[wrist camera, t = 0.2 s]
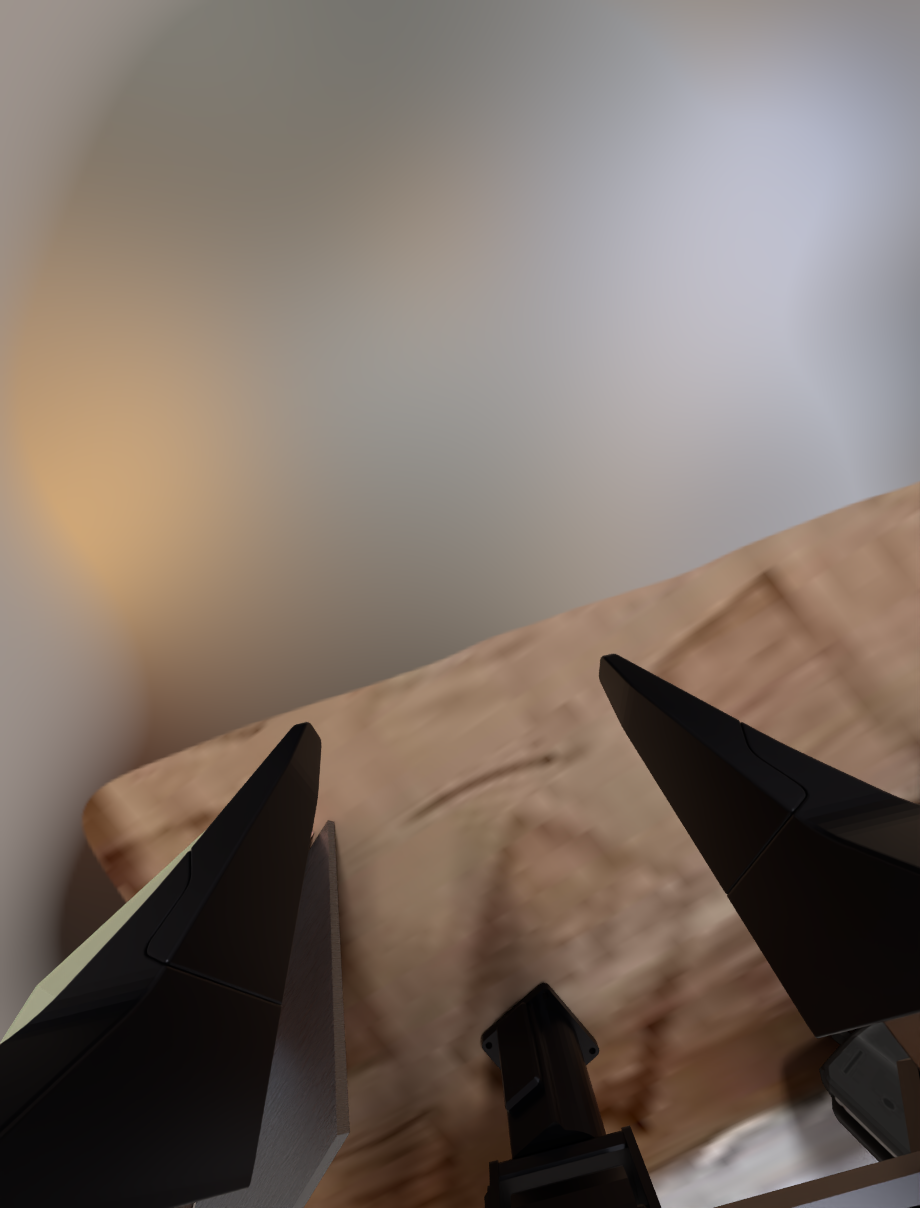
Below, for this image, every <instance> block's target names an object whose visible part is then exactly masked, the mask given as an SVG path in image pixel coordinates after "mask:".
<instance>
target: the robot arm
mask: <svg viewBox="0 0 920 1208" xmlns="http://www.w3.org/2000/svg"><path fill="white" fill-rule="evenodd" d="M599 679H600V682H601V684H602V686H603V689H604V691H605V693H606V695H607V697H608V699H609V701H610V703H611V705H612V707H613V709H614V711H615V713H616V715H617V718H618V720H619V722H620V724H621V726H622V727H623V729H624V731H625V732H626V734H627V736H628V737H629V739H630V741H631V742H632V744H633V745H634V747H635V749H636V750H637V752H638V753H639V755H640V757H641V758H642V760H643V762H644V763H645V765H646V766H647V768H648V770H649V771H650V773H651V774H652V776H653V778H654V779H655V781H656V782H657V784H658V786H659V787H660V789H661V790H662V792H663V794H664V795H665V797H666V798H667V800H668V802H669V803H670V805H671V806H672V808H673V810H674V811H675V813H676V815H677V816H678V818H679V819H680V821H681V823H682V824H683V826H684V827H685V829H686V831H687V832H688V834H689V835H690V837H691V839H692V840H693V842H694V843H695V845H696V847H697V848H698V850H699V851H700V853H701V855H702V856H703V858H704V860H705V861H706V863H707V864H708V866H709V868H710V869H711V871H712V872H713V874H714V876H715V877H716V879H717V880H718V882H719V884H720V885H721V887H722V888H723V890H724V892H725V893H726V894H727V897H728V898H729V900H730V902H731V903H732V905H733V906H734V908H735V910H736V911H737V913H738V914H739V916H740V918H741V919H742V921H743V923H744V924H745V926H746V927H747V929H748V931H749V932H750V934H751V935H752V937H753V939H754V940H755V942H756V943H757V945H758V947H759V948H760V950H761V951H762V953H763V955H764V956H765V958H766V959H767V961H768V963H769V964H770V966H771V968H772V969H773V971H774V972H775V974H776V976H777V977H778V979H779V980H780V982H781V984H782V985H783V987H784V988H785V990H786V992H787V993H788V995H789V996H790V998H791V1000H792V1001H793V1003H794V1004H795V1006H796V1008H797V1009H798V1011H799V1013H800V1014H801V1016H802V1017H803V1019H804V1021H805V1022H806V1024H807V1025H808V1027H809V1028H810V1030H811V1031H812V1033H813V1034H814V1036H815V1037H816V1038H821V1037H825V1036H829V1035H833V1034H837V1033H841V1032H845V1031H849V1030H853V1029H857V1028H861V1027H865V1026H869V1025H873V1024H877V1023H881V1022H883V1023H884V1025H885V1026H886V1027H887V1029H888V1030H889V1031H890V1033H891V1034H892V1035H893V1037H894V1038H895V1039H896V1040H897V1042H898V1043H899V1044H900V1046H901V1047H902V1048H903V1050H904V1051H905V1052H906V1054H907V1055H908V1056H909V1058H907V1059H904V1060H900V1061H896V1063H897V1069H898V1076H899V1082H900V1088H901V1095H902V1101H903V1107H904V1113H905V1120H906V1126H907V1132H908V1139H909V1145H910V1151H911V1153H910V1154H906V1155H903V1156H899V1157H896V1158H892V1159H888V1160H885V1161H881V1162H877V1163H874V1164H870V1165H867V1166H863V1167H859V1168H856V1169H852V1170H848V1171H845V1172H841V1173H838V1174H834V1175H830V1176H827V1177H823V1178H819V1179H816V1180H812V1181H809V1182H805V1183H801V1184H798V1185H794V1186H790V1187H787V1188H783V1189H780V1190H776V1191H772V1192H769V1193H765V1194H761V1195H758V1196H754V1197H751V1198H747V1199H743V1200H740V1201H736V1202H732V1203H729V1204H725V1205H722V1206H718V1207H714V1208H920V805H919V804H916V803H913V802H910V801H907V800H905V799H902V798H899V797H897V796H894V795H892V794H890V793H887V792H885V791H883V790H881V789H879V788H876V787H874V786H872V785H870V784H868V783H866V782H863V781H861V780H859V779H857V778H855V777H853V776H851V775H848V774H846V773H844V772H842V771H840V770H838V769H836V768H833V767H831V766H829V765H827V764H825V763H823V762H820V761H818V760H816V759H814V758H812V757H810V756H808V755H806V754H804V753H801V752H799V751H797V750H795V749H793V748H791V747H789V746H787V745H785V744H783V743H781V742H779V741H777V740H775V739H773V738H771V737H769V736H767V735H766V734H764V733H762V732H760V731H758V730H756V729H754V728H752V727H750V726H749V725H747V724H745V723H743V722H741V723H740V721H739V720H737V719H735V718H734V717H732V716H730V715H728V714H726V713H724V712H723V711H721V710H719V709H717V708H715V707H713V706H711V705H710V704H708V703H706V702H704V701H702V700H700V699H698V698H697V697H695V696H693V695H691V694H689V693H687V692H685V691H684V690H682V689H680V688H678V687H676V686H674V685H673V684H671V683H669V682H667V681H665V680H663V679H661V678H660V677H658V676H656V675H654V674H652V673H650V672H648V671H647V670H645V669H643V668H641V667H639V666H637V665H636V664H634V663H632V662H630V661H628V660H626V659H624V658H623V657H621V656H619V655H617V654H609V655H605V656H602V657H601V659H600V668H599ZM320 760H321V739H320V737H319V736H318V734H317V732H316V731H315V729H314V728H313V726H312V725H311V724H310V723H309V722H305V723H300V724H296V725H294V726H293V727H292V728H291V729H290V730H289V732H288V733H287V734H286V735H285V736H284V738H283V739H282V740H281V741H280V742H279V744H278V745H277V746H276V747H275V748H274V750H273V751H272V752H271V753H270V754H269V756H268V757H267V758H266V759H265V760H264V761H263V763H262V764H261V765H260V766H259V767H258V769H257V770H256V771H255V772H254V773H253V775H252V776H251V777H250V778H249V779H248V781H247V782H246V783H245V784H244V785H243V787H242V788H241V789H240V790H239V791H238V792H237V794H236V795H235V796H234V797H233V798H232V800H231V801H230V802H229V803H228V804H227V806H226V807H225V808H224V809H223V810H222V812H221V813H220V814H219V815H218V816H217V818H216V819H215V820H214V821H213V822H212V824H211V825H210V826H209V827H208V828H207V829H206V831H205V832H204V833H203V834H202V835H201V837H200V838H199V839H198V840H197V841H196V843H195V844H194V845H193V846H192V848H191V850H190V851H188V852H187V853H186V854H185V856H184V857H183V858H182V859H181V860H180V862H179V863H178V864H177V865H176V866H175V867H174V869H173V870H172V871H171V872H170V873H169V874H168V876H167V877H166V878H165V879H164V880H163V881H162V883H161V884H160V885H159V886H158V887H157V888H156V890H155V891H154V892H153V893H152V894H151V895H150V896H149V897H148V898H147V900H146V901H145V902H144V903H143V904H142V905H141V906H140V907H139V908H138V909H137V911H136V912H135V913H134V914H133V915H132V916H131V917H130V918H129V919H128V920H127V922H126V923H125V924H124V925H123V926H122V927H121V928H120V929H119V930H118V931H117V932H116V933H115V934H114V935H113V937H112V938H111V939H110V940H109V941H108V942H107V943H106V944H105V945H104V946H103V947H102V948H101V949H100V951H99V952H98V953H97V954H96V955H95V956H94V957H93V958H92V959H91V960H90V961H89V962H88V963H87V965H86V966H85V967H84V968H83V969H82V970H81V971H80V972H79V973H78V974H77V975H76V976H75V977H74V978H73V980H72V981H71V982H70V983H69V984H68V985H67V986H66V987H65V988H64V989H63V990H62V991H61V992H60V993H59V994H58V995H57V996H56V997H55V998H54V999H53V1001H52V1002H50V1003H49V1004H48V1005H47V1006H46V1007H45V1008H44V1009H43V1010H42V1011H41V1012H40V1013H39V1014H38V1015H36V1016H35V1017H34V1018H33V1019H32V1020H31V1021H30V1022H28V1023H27V1024H26V1025H25V1026H24V1027H22V1028H21V1029H20V1030H18V1031H17V1032H16V1033H15V1034H13V1035H12V1036H11V1037H9V1038H8V1039H7V1040H5V1041H4V1042H2V1043H1V1044H0V1208H193V1204H194V1203H195V1202H199V1201H202V1200H206V1199H210V1198H213V1197H217V1196H221V1195H224V1194H228V1193H232V1192H235V1191H239V1190H243V1189H246V1188H249V1186H250V1183H251V1179H252V1174H253V1169H254V1164H255V1158H256V1153H257V1147H258V1141H259V1135H260V1130H261V1124H262V1118H263V1112H264V1107H265V1101H266V1095H267V1089H268V1084H269V1078H270V1072H271V1066H272V1061H273V1055H274V1049H275V1043H276V1038H277V1032H278V1026H279V1020H280V1014H281V1009H282V1006H281V1004H282V1002H283V996H284V990H285V984H286V979H287V973H288V967H289V961H290V956H291V950H292V944H293V938H294V933H295V927H296V921H297V915H298V910H299V904H300V898H301V892H302V887H303V881H304V875H305V869H306V863H307V858H308V852H309V846H310V840H311V835H312V829H313V823H314V817H315V812H316V806H317V799H318V790H319V775H320ZM482 1048H483V1050H484V1051H485V1052H486V1053H487V1054H488V1056H489V1057H490V1058H491V1059H492V1060H493V1061H494V1063H495V1064H496V1065H497V1066H498V1067H499V1068H500V1070H501V1074H502V1084H503V1093H504V1102H505V1108H506V1110H507V1117H508V1126H509V1135H510V1144H511V1153H512V1159H511V1160H507V1161H503V1162H500V1163H499V1162H498V1160H496V1161H492V1162H489V1172H490V1186H487V1193H486V1195H485V1197H484V1200H485V1208H661V1205H660V1203H659V1200H658V1197H657V1195H656V1192H655V1190H654V1187H653V1184H652V1182H651V1179H650V1177H649V1174H648V1171H647V1169H646V1166H645V1164H644V1161H643V1158H642V1156H641V1153H640V1150H639V1148H638V1145H637V1143H636V1140H635V1137H634V1135H633V1132H632V1130H631V1127H630V1126H626V1127H622V1128H621V1129H622V1131H618V1132H614V1133H610V1134H607V1135H606V1132H605V1129H604V1125H603V1122H602V1119H601V1115H600V1112H599V1108H598V1105H597V1102H596V1098H595V1095H594V1091H593V1088H592V1085H591V1081H590V1078H589V1074H588V1071H587V1067H586V1065H587V1064H588V1063H589V1062H591V1061H592V1060H593V1059H594V1058H595V1057H596V1056H597V1055H598V1053H599V1048H598V1045H597V1042H596V1040H595V1039H594V1037H593V1036H592V1035H591V1034H590V1033H589V1032H588V1030H587V1029H586V1028H585V1027H584V1026H583V1024H582V1023H581V1022H580V1021H579V1020H578V1019H577V1017H576V1016H575V1015H574V1014H573V1013H572V1012H571V1010H570V1009H569V1008H568V1007H567V1006H566V1004H565V1003H564V1002H563V1001H562V1000H561V999H560V997H559V996H558V995H557V994H556V993H555V992H554V990H553V989H552V988H551V987H550V986H549V985H548V984H547V983H542V984H540V985H539V986H538V987H536V988H535V989H534V990H533V991H532V992H531V993H530V994H528V995H527V996H526V997H525V998H524V999H523V1000H522V1001H521V1002H519V1003H518V1004H517V1005H516V1006H515V1007H514V1008H513V1009H511V1010H510V1011H509V1012H508V1013H507V1014H506V1015H505V1016H503V1017H502V1018H501V1019H500V1020H499V1021H498V1022H497V1023H495V1024H494V1025H493V1026H492V1027H491V1028H490V1029H489V1030H487V1031H486V1032H485V1033H484V1034H483V1036H482Z"/></svg>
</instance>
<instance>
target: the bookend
mask: <svg viewBox="0 0 920 1208" xmlns="http://www.w3.org/2000/svg"><path fill="white" fill-rule="evenodd" d="M281 1006H282V1009H281V1014H280V1020H279V1026H278V1032H277V1038H276V1043H275V1049H274V1055H273V1061H272V1066H271V1072H270V1078H269V1084H268V1089H267V1095H266V1101H265V1107H264V1112H263V1118H262V1124H261V1130H260V1135H259V1141H258V1147H257V1153H256V1158H255V1164H254V1169H253V1174H252V1179H251V1183H250V1186H249V1188H246V1189H243V1190H239V1191H235V1192H232V1193H228V1194H224V1195H221V1196H217V1197H213V1198H210V1199H206V1200H202V1201H199V1202H196V1206H195V1208H304V1206H305V1204H306V1203H307V1201H308V1200H309V1198H310V1196H311V1195H312V1193H313V1191H314V1190H315V1188H316V1187H317V1185H318V1183H319V1182H320V1180H321V1178H322V1177H323V1175H324V1174H325V1172H326V1170H327V1169H328V1167H329V1165H330V1164H331V1162H332V1160H333V1159H334V1157H335V1156H336V1154H337V1152H338V1151H339V1149H340V1147H341V1146H342V1144H343V1143H344V1141H345V1139H346V1138H347V1136H348V1134H349V1133H350V1128H349V1109H348V1089H347V1069H346V1049H345V1029H344V1009H343V990H342V970H341V950H340V930H339V910H338V890H337V871H336V851H335V831H334V822H333V821H327V822H326V824H325V826H324V827H323V829H322V830H321V832H320V834H319V835H318V837H317V838H316V840H315V842H314V843H313V845H312V846H311V848H310V850H309V852H308V858H307V863H306V869H305V875H304V881H303V887H302V892H301V898H300V904H299V910H298V915H297V921H296V927H295V933H294V938H293V944H292V950H291V956H290V961H289V967H288V973H287V979H286V984H285V990H284V996H283V1002H282V1004H281Z"/></svg>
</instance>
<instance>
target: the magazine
mask: <svg viewBox="0 0 920 1208" xmlns="http://www.w3.org/2000/svg"><path fill="white" fill-rule="evenodd" d="M832 1038H833V1039H834V1040H835V1041H837V1042H838V1043H839V1044H840V1046H839V1047H838V1048H837V1049H836V1051H835V1052H834V1053H833V1054H832V1055H831V1056H830V1057H829V1059H828V1060H827V1061H826V1062H825V1063H824V1064H823V1065H822V1067H821V1068H820V1069H819V1070H820V1074H821V1078H822V1083H823V1084H824V1086H825V1087H826V1089H827V1091H828V1092H829V1094H830V1095H831V1097H832V1109H833V1111H834V1114H835V1116H836V1118H837V1119H838V1121H839V1122H840V1123H841V1124H842V1125H843V1126H844V1127H845V1128H846V1129H847V1130H848V1131H849V1132H850V1133H851V1134H852V1135H853V1136H854V1137H855V1138H856V1139H857V1140H858V1141H859V1142H860V1143H861V1144H862V1145H863V1146H864V1147H865V1148H866V1149H867V1150H868V1151H869V1152H870V1153H871V1154H872V1155H873V1156H874V1157H875V1158H876V1159H877V1160H878V1161H879V1162H881V1161H885V1160H888V1159H892V1158H896V1157H899V1156H903V1155H906V1154H910V1153H911V1151H910V1145H909V1139H908V1132H907V1126H906V1120H905V1113H904V1107H903V1101H902V1095H901V1088H900V1082H899V1076H898V1069H897V1063H896V1061H900V1060H904V1059H907V1058H909V1056H908V1055H907V1054H906V1052H905V1051H904V1050H903V1048H902V1047H901V1046H900V1044H899V1043H898V1042H897V1040H896V1039H895V1038H894V1037H893V1035H892V1034H891V1033H890V1031H889V1030H888V1029H887V1027H886V1026H885V1025H884V1023H883V1022H881V1023H877V1024H873V1025H869V1026H865V1027H861V1028H859V1029H858V1030H856V1031H855V1032H853V1033H852V1034H850V1033H848V1032H847V1031H845V1032H841V1033H837V1034H833V1035H832Z"/></svg>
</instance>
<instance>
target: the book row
mask: <svg viewBox="0 0 920 1208" xmlns="http://www.w3.org/2000/svg"><path fill="white" fill-rule="evenodd" d="M204 832H205V831H204ZM204 832H203V833H204ZM203 833H202V834H203ZM313 833H314V832H313V831H312V835H313ZM202 834H201V835H202ZM201 835H200V836H199V837H198V838H197V839H196V840H195V841H194V842H192V843H191V844H190V845H189V846H188V847H187V848H186V849H185V850H184V851H183V852H182V853H180V854H179V855H178V856H177V857H176V858H175V859H174V860H173V861H172V862H171V863H170V864H169V865H167V866H166V867H165V868H164V869H163V870H162V871H161V872H160V873H159V874H158V875H157V876H155V877H154V878H153V879H152V880H151V881H150V882H149V883H148V884H147V885H146V886H145V887H144V888H142V889H141V890H140V891H139V892H138V893H137V894H136V895H135V896H134V897H133V898H132V899H130V900H129V901H128V902H127V903H126V904H125V905H124V906H123V907H122V908H121V909H120V910H118V912H116V913H115V914H114V915H113V916H112V917H111V918H110V919H109V920H108V921H107V922H105V923H104V924H103V925H102V926H101V927H100V928H99V929H98V930H97V931H96V932H95V933H93V934H92V935H91V936H90V937H89V938H88V939H87V940H86V941H85V942H84V943H83V944H82V945H80V946H79V947H78V948H77V949H76V950H75V951H74V952H73V953H72V954H71V955H70V956H69V957H67V958H66V959H65V960H64V961H63V962H62V963H61V964H60V965H59V966H58V967H57V968H55V969H54V970H53V971H52V972H51V973H50V974H49V975H48V976H47V977H46V978H45V979H43V980H42V981H41V982H40V983H39V984H38V985H37V986H36V988H35V989H34V991H33V992H32V994H31V995H30V997H29V999H28V1000H27V1002H26V1003H25V1005H24V1006H23V1008H22V1010H21V1011H20V1013H19V1014H18V1016H17V1017H16V1019H15V1020H14V1022H13V1024H12V1025H11V1027H10V1028H9V1030H8V1031H7V1033H6V1035H5V1036H4V1038H3V1039H2V1041H1V1042H0V1044H1V1043H2V1042H4V1041H5V1040H7V1039H8V1038H9V1037H11V1036H12V1035H13V1034H15V1033H16V1032H17V1031H18V1030H20V1029H21V1028H22V1027H24V1026H25V1025H26V1024H27V1023H28V1022H30V1021H31V1020H32V1019H33V1018H34V1017H35V1016H36V1015H38V1014H39V1013H40V1012H41V1011H42V1010H43V1009H44V1008H45V1007H46V1006H47V1005H48V1004H49V1003H50V1002H52V1001H53V999H54V998H55V997H56V996H57V995H58V994H59V993H60V992H61V991H62V990H63V989H64V988H65V987H66V986H67V985H68V984H69V983H70V982H71V981H72V980H73V978H74V977H75V976H76V975H77V974H78V973H79V972H80V971H81V970H82V969H83V968H84V967H85V966H86V965H87V963H88V962H89V961H90V960H91V959H92V958H93V957H94V956H95V955H96V954H97V953H98V952H99V951H100V949H101V948H102V947H103V946H104V945H105V944H106V943H107V942H108V941H109V940H110V939H111V938H112V937H113V935H114V934H115V933H116V932H117V931H118V930H119V929H120V928H121V927H122V926H123V925H124V924H125V923H126V922H127V920H128V919H129V918H130V917H131V916H132V915H133V914H134V913H135V912H136V911H137V909H138V908H139V907H140V906H141V905H142V904H143V903H144V902H145V901H146V900H147V898H148V897H149V896H150V895H151V894H152V893H153V892H154V891H155V890H156V888H157V887H158V886H159V885H160V884H161V883H162V881H163V880H164V879H165V878H166V877H167V876H168V874H169V873H170V872H171V871H172V870H173V869H174V867H175V866H176V865H177V864H178V863H179V862H180V860H181V859H182V858H183V857H184V856H185V854H186V853H187V852H188V851H190V850H191V848H192V846H193V845H194V844H195V843H196V841H197V840H198V839H199V838H200V837H201ZM312 835H311V837H312Z"/></svg>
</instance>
